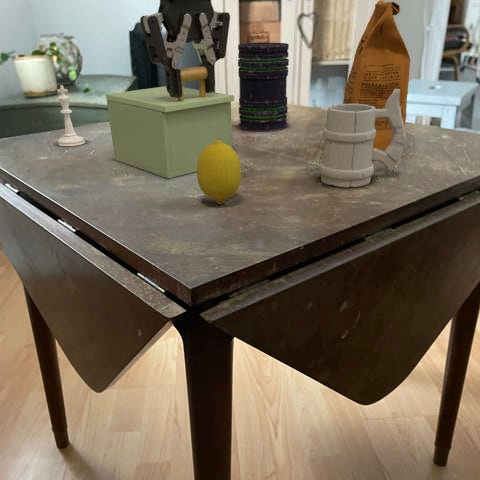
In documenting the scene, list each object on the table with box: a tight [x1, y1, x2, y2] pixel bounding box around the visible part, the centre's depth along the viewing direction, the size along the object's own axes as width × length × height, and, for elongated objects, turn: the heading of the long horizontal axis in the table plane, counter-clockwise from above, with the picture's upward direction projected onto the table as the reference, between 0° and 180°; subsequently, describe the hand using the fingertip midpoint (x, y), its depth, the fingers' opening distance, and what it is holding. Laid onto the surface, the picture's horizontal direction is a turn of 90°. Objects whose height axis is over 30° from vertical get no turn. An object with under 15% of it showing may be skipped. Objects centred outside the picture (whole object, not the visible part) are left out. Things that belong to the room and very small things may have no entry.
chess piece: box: [56, 84, 86, 147], centre depth 98 cm, size 5×5×10 cm
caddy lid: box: [105, 65, 235, 112], centre depth 82 cm, size 16×13×5 cm
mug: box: [318, 89, 407, 188], centre depth 75 cm, size 8×12×12 cm, turn 95°
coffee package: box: [342, 0, 411, 151], centre depth 86 cm, size 10×12×22 cm
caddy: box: [106, 99, 233, 179], centre depth 86 cm, size 16×13×9 cm
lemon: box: [196, 140, 242, 205], centre depth 68 cm, size 6×6×8 cm
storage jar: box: [237, 42, 290, 132], centre depth 107 cm, size 10×10×15 cm
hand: (191, 94), depth 79 cm, fingers closed on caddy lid, 5 cm apart
